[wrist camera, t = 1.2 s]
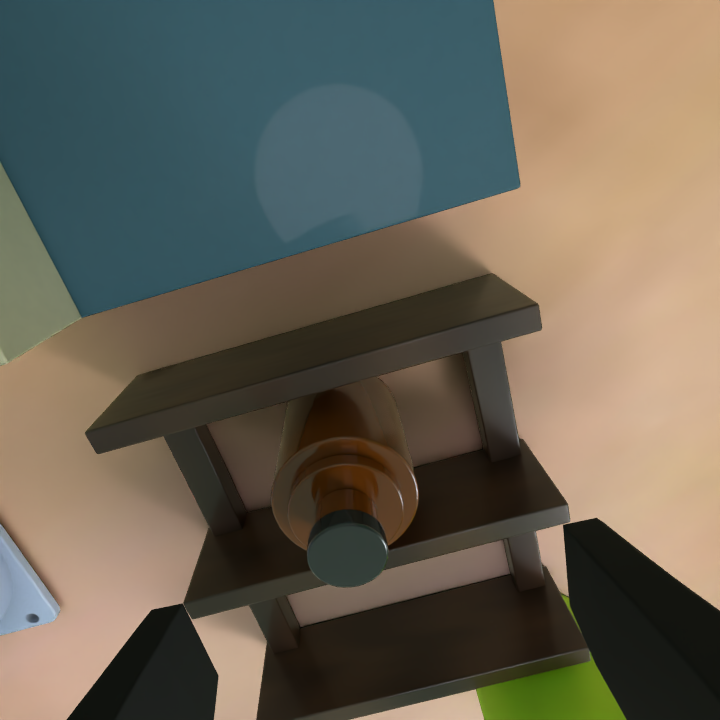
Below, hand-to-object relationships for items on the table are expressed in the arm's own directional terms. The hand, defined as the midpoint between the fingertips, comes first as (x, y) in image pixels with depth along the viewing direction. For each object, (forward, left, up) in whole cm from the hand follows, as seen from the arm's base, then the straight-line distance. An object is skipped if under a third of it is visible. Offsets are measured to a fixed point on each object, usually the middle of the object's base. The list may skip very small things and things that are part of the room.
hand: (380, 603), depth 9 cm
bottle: (-1, -1, -10) cm, 10 cm away
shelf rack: (-1, -4, -10) cm, 10 cm away
